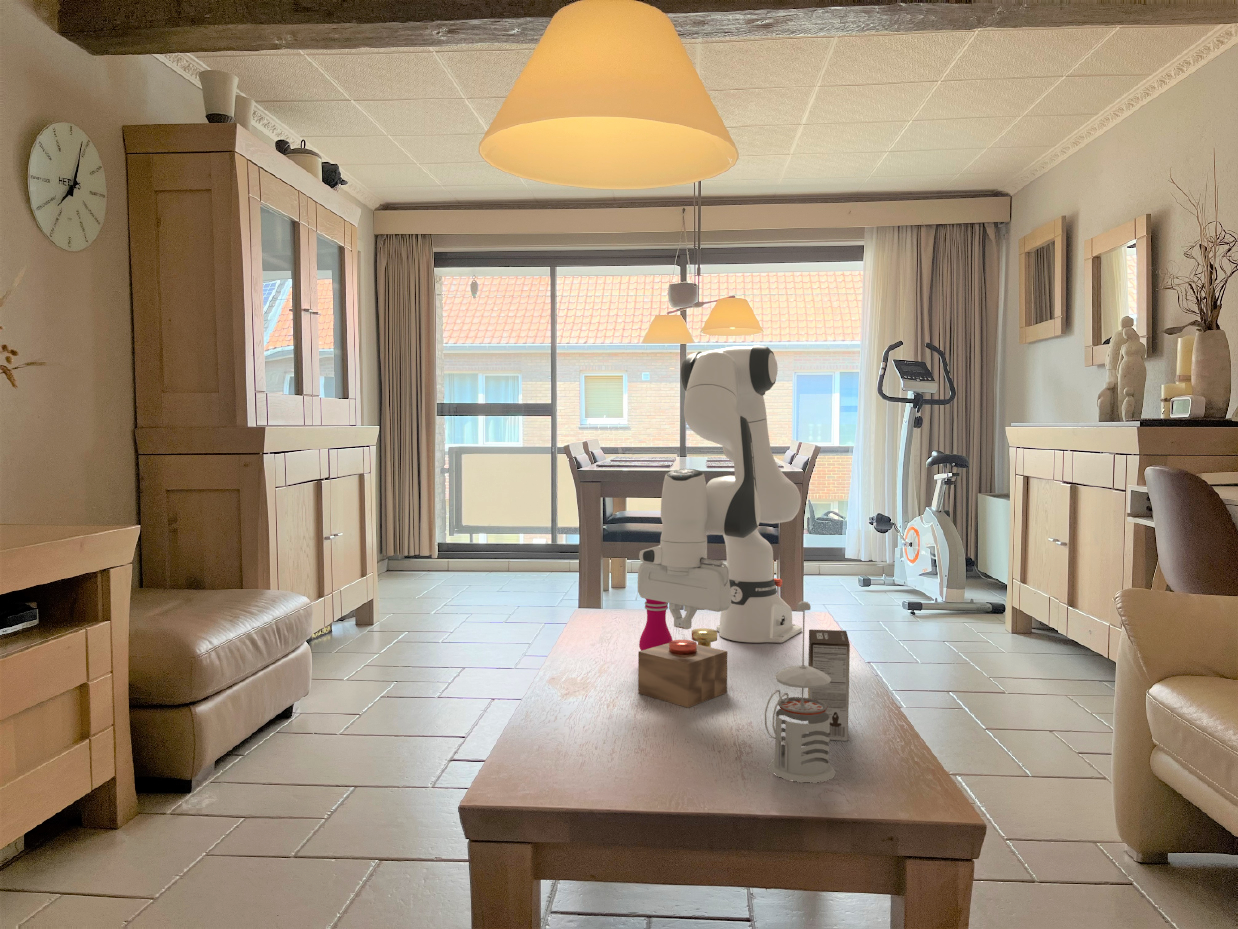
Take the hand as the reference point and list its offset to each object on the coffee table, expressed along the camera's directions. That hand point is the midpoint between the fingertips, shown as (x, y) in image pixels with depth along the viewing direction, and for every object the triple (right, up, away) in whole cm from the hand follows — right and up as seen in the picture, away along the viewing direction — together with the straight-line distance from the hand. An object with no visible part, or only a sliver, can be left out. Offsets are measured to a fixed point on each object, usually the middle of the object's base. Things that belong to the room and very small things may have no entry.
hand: (682, 628), depth 159 cm
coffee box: (+23, -14, -19) cm, 33 cm away
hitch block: (0, -13, +1) cm, 13 cm away
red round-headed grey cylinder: (0, -12, +1) cm, 12 cm away
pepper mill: (-4, -12, +20) cm, 23 cm away
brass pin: (+5, -12, +12) cm, 18 cm away
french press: (+14, -14, -36) cm, 41 cm away
